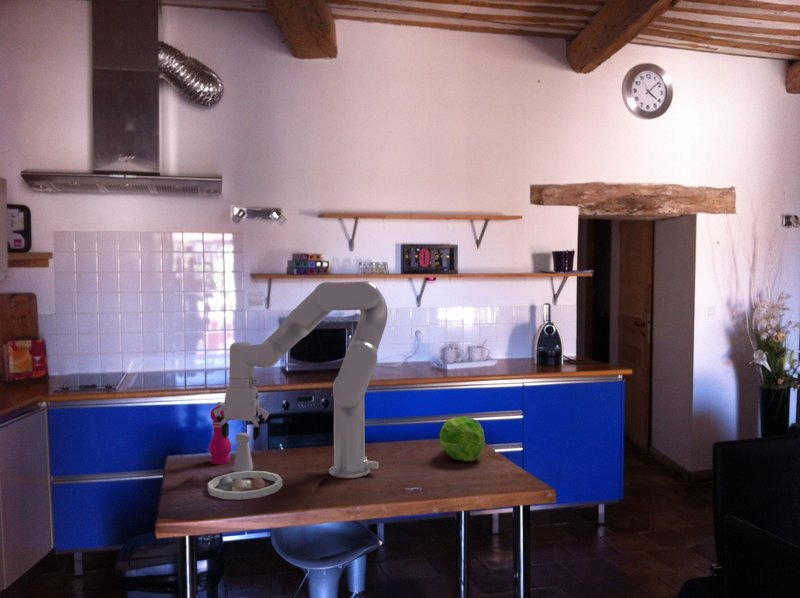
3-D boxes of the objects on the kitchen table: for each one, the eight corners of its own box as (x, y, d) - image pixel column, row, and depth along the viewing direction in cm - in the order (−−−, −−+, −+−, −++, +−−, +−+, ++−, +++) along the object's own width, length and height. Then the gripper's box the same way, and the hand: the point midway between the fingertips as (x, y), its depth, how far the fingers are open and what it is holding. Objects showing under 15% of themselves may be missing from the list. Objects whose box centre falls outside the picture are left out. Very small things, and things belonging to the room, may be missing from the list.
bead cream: (248, 494, 181) (249, 479, 182) (243, 494, 177) (244, 479, 178) (234, 493, 181) (235, 478, 182) (229, 493, 177) (230, 478, 178)
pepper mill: (236, 460, 217) (235, 400, 216) (221, 465, 210) (221, 404, 210) (219, 457, 220) (218, 399, 219) (204, 463, 213) (203, 402, 213)
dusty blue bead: (236, 487, 183) (231, 474, 184) (233, 487, 180) (227, 474, 181) (223, 493, 183) (218, 480, 184) (219, 494, 179) (214, 480, 180)
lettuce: (428, 457, 228) (470, 461, 231) (444, 460, 207) (490, 464, 209) (432, 415, 231) (473, 419, 234) (447, 413, 210) (492, 417, 212)
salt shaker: (255, 473, 202) (255, 431, 202) (249, 478, 197) (249, 435, 196) (237, 472, 203) (237, 431, 203) (231, 478, 197) (230, 435, 197)
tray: (289, 482, 193) (289, 472, 193) (268, 505, 173) (268, 493, 173) (224, 480, 195) (224, 470, 195) (196, 502, 175) (196, 491, 175)
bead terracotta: (262, 495, 182) (269, 482, 182) (256, 495, 178) (264, 482, 179) (251, 487, 183) (258, 474, 184) (245, 487, 179) (252, 474, 180)
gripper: (272, 382, 202) (271, 436, 202) (219, 379, 204) (218, 434, 204) (265, 385, 194) (264, 442, 195) (209, 383, 196) (208, 439, 197)
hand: (240, 438), depth 200 cm, fingers open, 9 cm apart
